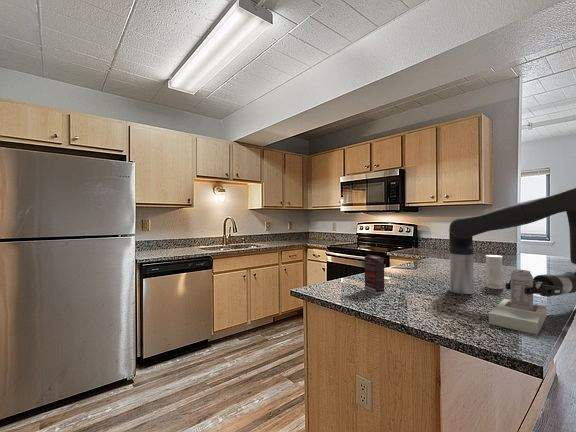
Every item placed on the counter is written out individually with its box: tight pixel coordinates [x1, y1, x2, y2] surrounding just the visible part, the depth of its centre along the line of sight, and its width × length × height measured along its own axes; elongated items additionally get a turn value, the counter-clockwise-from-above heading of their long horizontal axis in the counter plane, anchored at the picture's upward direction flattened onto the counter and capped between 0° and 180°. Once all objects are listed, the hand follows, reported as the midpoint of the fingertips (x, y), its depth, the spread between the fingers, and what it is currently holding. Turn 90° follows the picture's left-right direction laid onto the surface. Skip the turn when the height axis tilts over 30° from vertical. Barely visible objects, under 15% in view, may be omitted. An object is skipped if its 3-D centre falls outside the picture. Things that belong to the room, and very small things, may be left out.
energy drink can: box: [510, 269, 534, 311], centre depth 101 cm, size 6×6×15 cm
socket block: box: [488, 298, 548, 336], centre depth 98 cm, size 12×22×4 cm, turn 133°
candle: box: [484, 254, 504, 290], centre depth 140 cm, size 7×7×15 cm
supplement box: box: [364, 255, 385, 295], centre depth 134 cm, size 9×5×16 cm, turn 22°
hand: (516, 288), depth 100 cm, fingers closed on energy drink can, 5 cm apart
